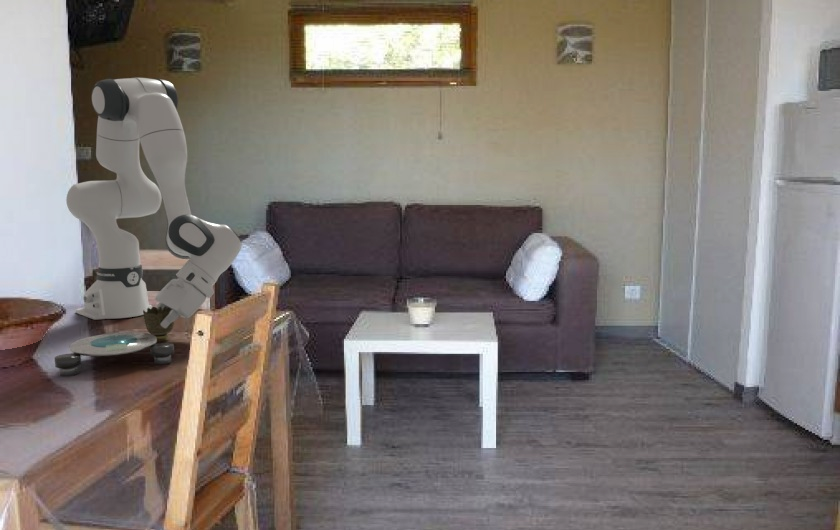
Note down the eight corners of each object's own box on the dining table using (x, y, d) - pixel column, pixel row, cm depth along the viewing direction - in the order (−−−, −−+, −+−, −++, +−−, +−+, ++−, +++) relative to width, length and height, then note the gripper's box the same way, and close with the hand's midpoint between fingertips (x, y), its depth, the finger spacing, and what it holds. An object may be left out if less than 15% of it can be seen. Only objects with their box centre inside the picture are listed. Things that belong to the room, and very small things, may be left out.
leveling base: (27, 368, 162) (25, 343, 161) (119, 345, 181) (117, 323, 180) (91, 386, 149) (88, 359, 148) (183, 360, 167) (181, 336, 166)
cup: (166, 344, 181) (164, 312, 180) (139, 343, 183) (136, 311, 182) (181, 337, 189) (180, 306, 187) (155, 336, 190) (153, 305, 189)
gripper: (172, 268, 196) (136, 308, 192) (197, 278, 179) (159, 323, 175) (190, 282, 199) (155, 323, 195) (216, 294, 182) (179, 338, 178)
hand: (157, 323), depth 185 cm, fingers closed on cup, 7 cm apart
